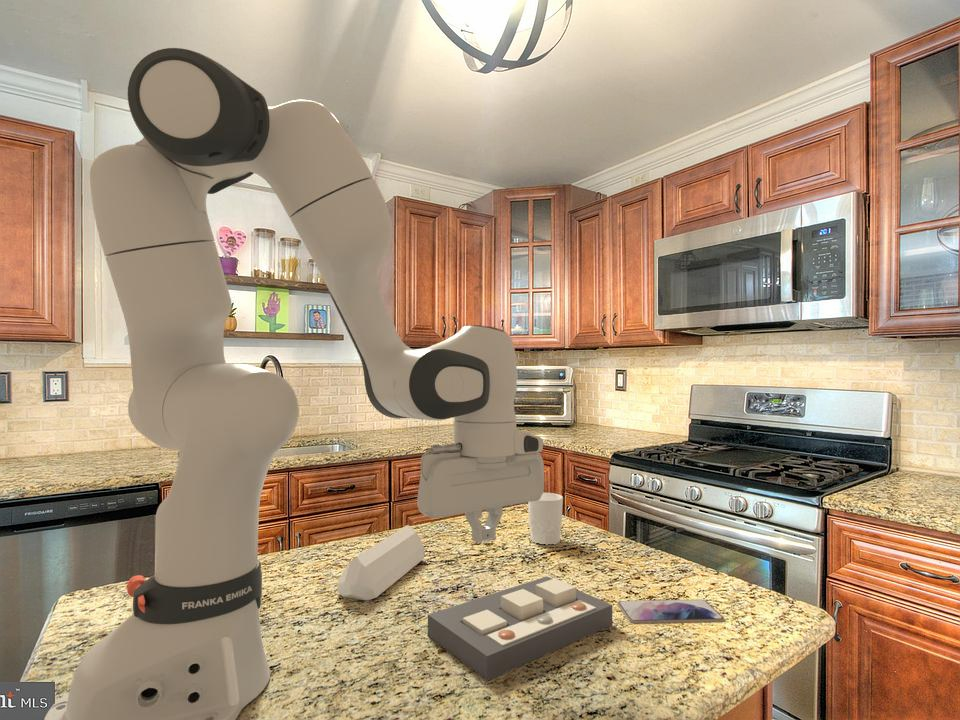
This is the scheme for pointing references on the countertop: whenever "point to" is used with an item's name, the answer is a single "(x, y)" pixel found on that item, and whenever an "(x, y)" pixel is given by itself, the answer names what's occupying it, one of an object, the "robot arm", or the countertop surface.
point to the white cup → (546, 518)
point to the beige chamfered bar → (381, 565)
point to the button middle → (522, 604)
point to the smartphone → (669, 611)
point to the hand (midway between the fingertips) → (483, 540)
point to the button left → (484, 622)
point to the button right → (556, 592)
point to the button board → (516, 630)
